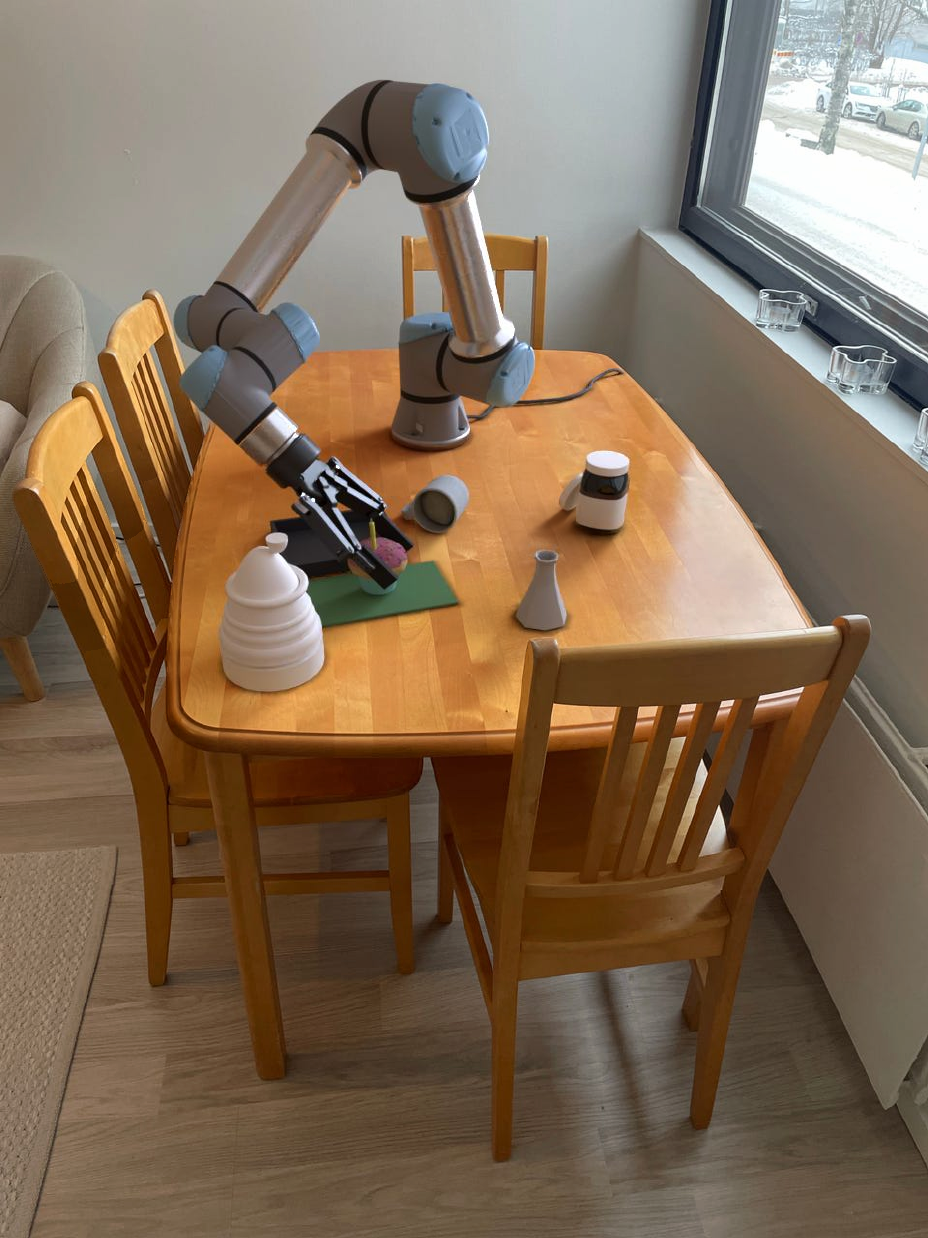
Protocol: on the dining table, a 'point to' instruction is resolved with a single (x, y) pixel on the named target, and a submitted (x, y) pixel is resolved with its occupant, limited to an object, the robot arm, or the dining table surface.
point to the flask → (543, 596)
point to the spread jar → (599, 493)
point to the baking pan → (317, 544)
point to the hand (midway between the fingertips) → (399, 566)
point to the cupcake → (388, 554)
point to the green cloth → (351, 603)
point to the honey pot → (270, 623)
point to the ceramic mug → (438, 504)
